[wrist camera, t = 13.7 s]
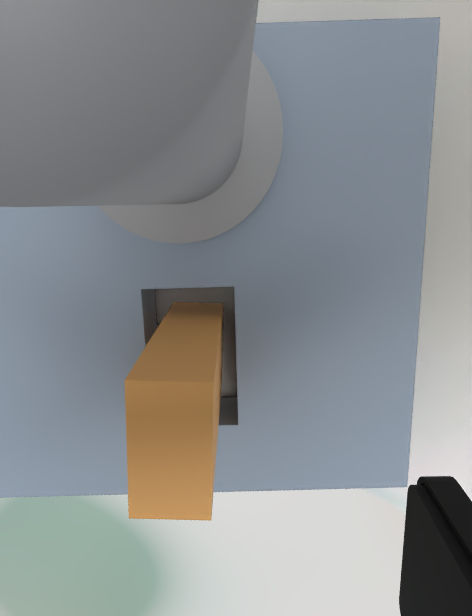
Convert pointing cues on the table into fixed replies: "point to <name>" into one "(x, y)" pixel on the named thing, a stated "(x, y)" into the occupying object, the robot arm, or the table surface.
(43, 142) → the grey base with post
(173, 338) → the orange rectangular block
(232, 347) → the table surface
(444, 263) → the table surface
